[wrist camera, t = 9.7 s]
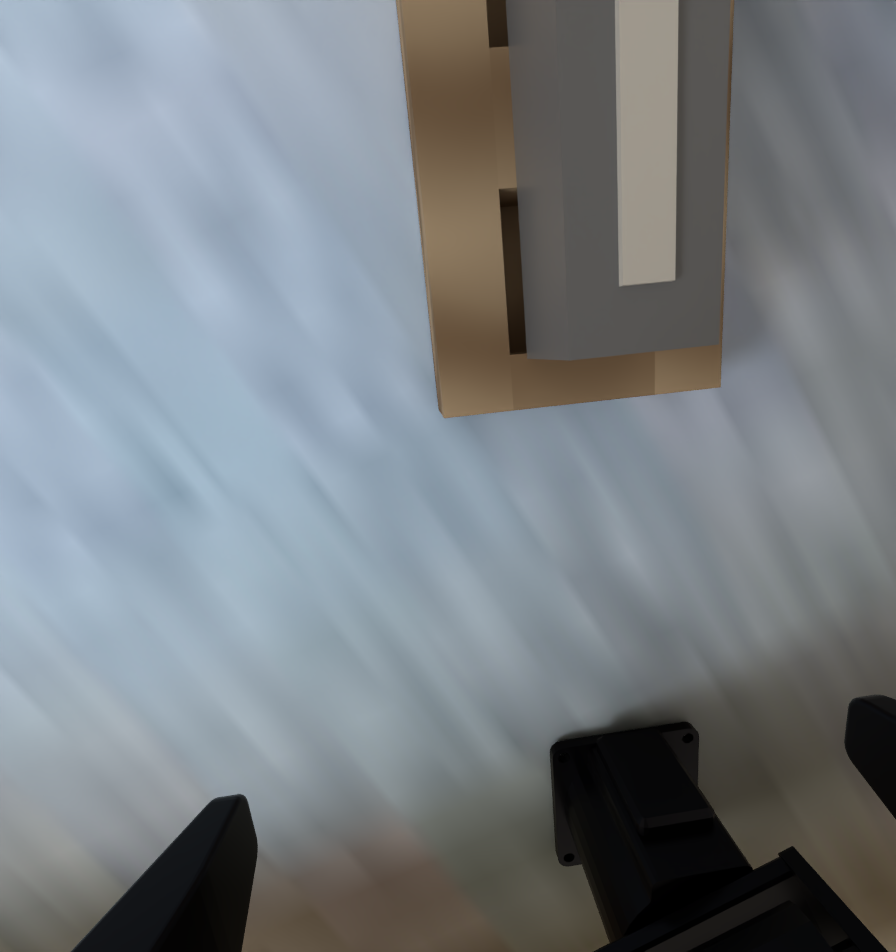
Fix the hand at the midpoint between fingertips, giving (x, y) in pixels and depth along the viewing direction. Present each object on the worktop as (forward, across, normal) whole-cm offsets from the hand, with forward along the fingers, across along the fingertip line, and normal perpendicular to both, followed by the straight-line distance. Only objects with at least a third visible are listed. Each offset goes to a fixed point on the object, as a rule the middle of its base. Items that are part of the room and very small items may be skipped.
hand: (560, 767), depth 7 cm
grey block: (+12, -4, -12) cm, 17 cm away
